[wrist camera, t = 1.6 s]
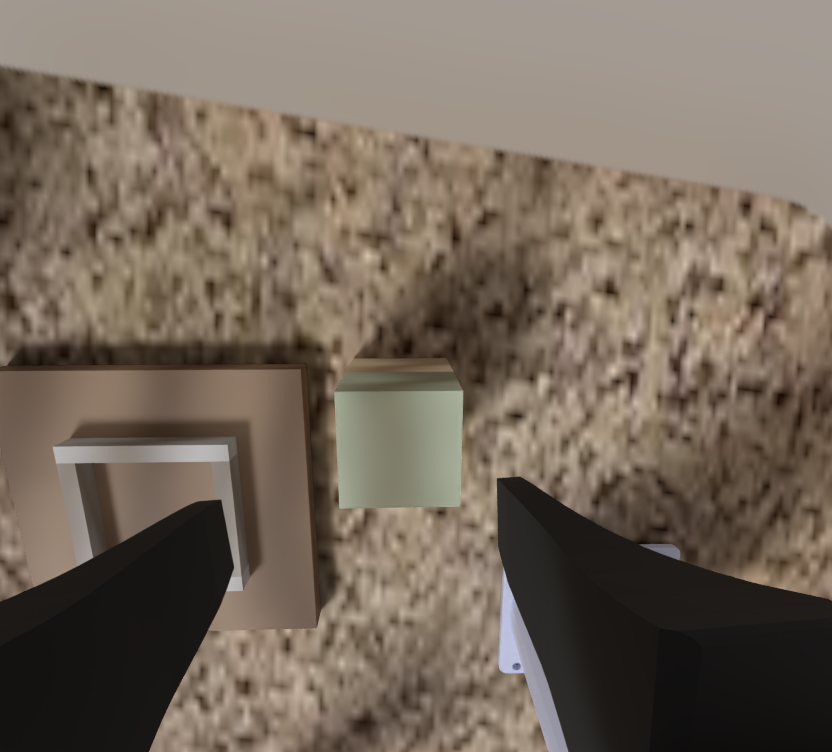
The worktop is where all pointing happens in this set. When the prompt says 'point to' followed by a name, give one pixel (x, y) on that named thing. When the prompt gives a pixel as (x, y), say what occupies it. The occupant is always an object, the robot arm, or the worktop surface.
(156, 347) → the worktop surface
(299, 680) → the worktop surface
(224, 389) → the walnut board
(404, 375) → the block stack
